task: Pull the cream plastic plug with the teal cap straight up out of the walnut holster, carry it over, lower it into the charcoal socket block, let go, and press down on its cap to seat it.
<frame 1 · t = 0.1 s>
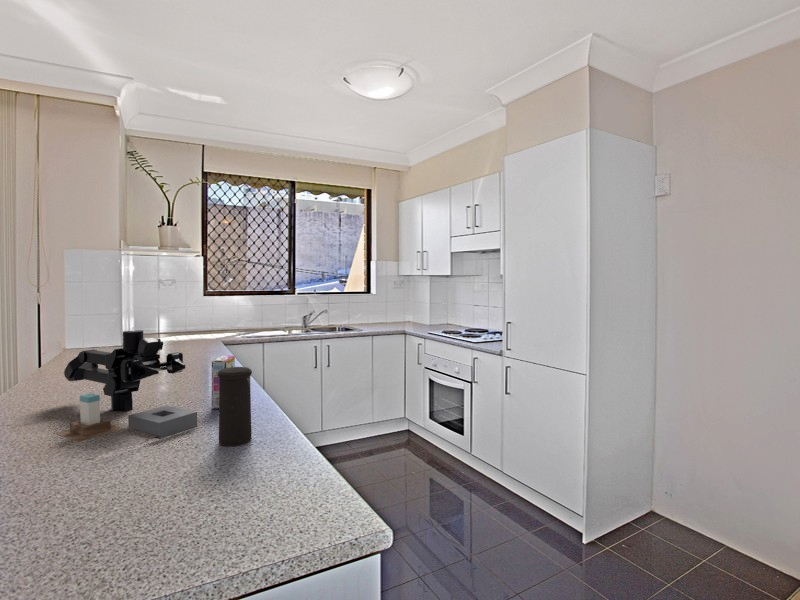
hand: (171, 369, 138), 17 cm above the counter, tool horizontal, fingers open, 9 cm apart
socket block: (163, 428, 134), on the counter
plug: (90, 430, 129), point 1 cm above the counter, touching holster
container: (235, 442, 125), on the counter
holster: (90, 434, 129), on the counter
candy bar box: (223, 405, 160), on the counter
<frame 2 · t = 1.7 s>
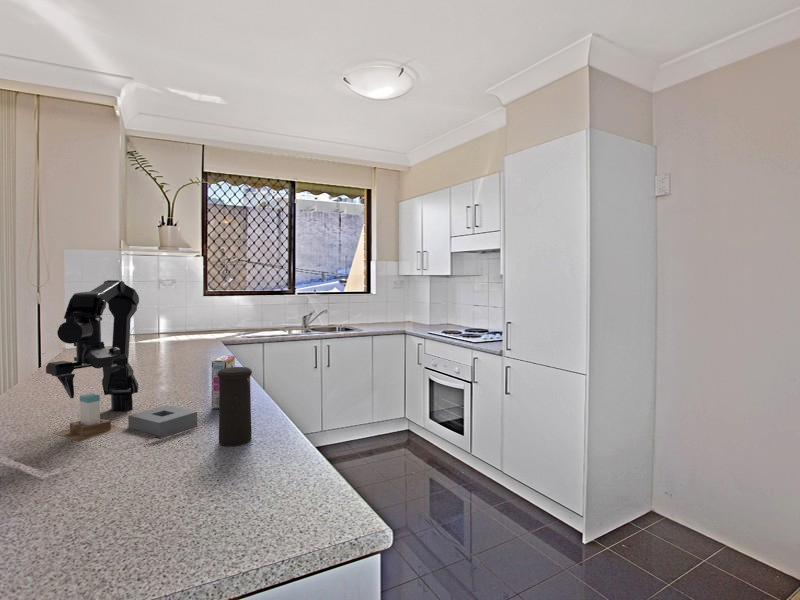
hand: (90, 394, 129), 11 cm above the counter, tool pointing down, fingers open, 9 cm apart
nothing on the counter moved.
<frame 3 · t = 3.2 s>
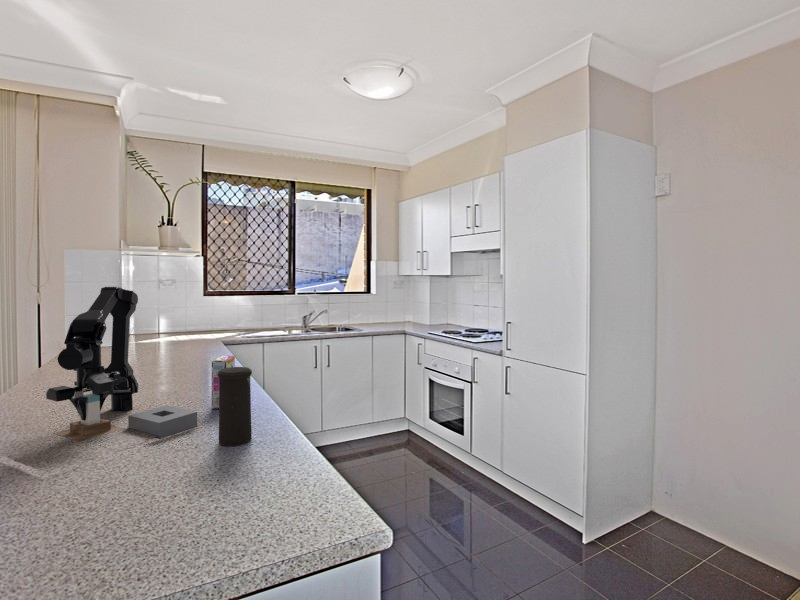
hand: (90, 418, 129), 5 cm above the counter, tool pointing down, fingers closed on plug, 3 cm apart
plug: (90, 430, 129), point 1 cm above the counter, touching gripper, holster
everything else where it was.
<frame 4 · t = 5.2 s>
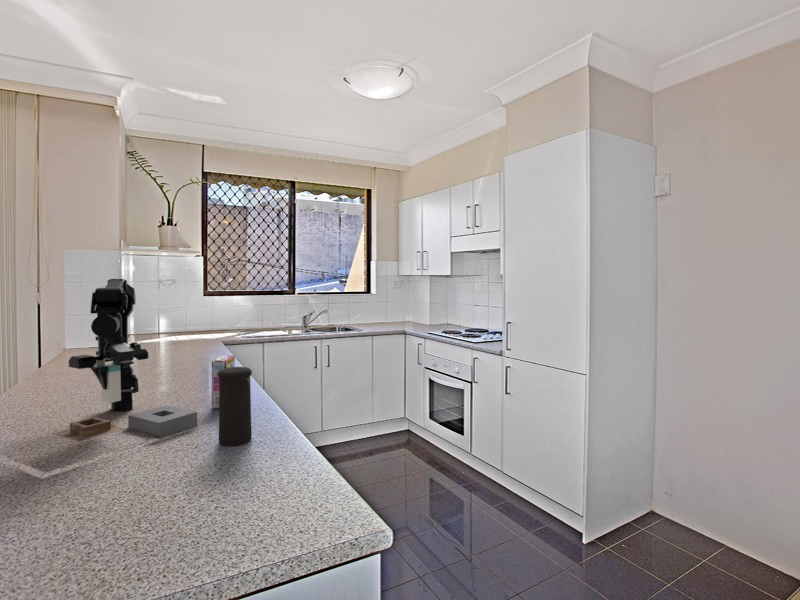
hand: (111, 388, 130), 13 cm above the counter, tool pointing down, fingers closed on plug, 3 cm apart
plug: (111, 400, 130), point 9 cm above the counter, touching gripper
everything else where it was.
when the fingers open (5 cm above the counter, at t = 7.7 s): plug drops 2 cm, resting in socket block.
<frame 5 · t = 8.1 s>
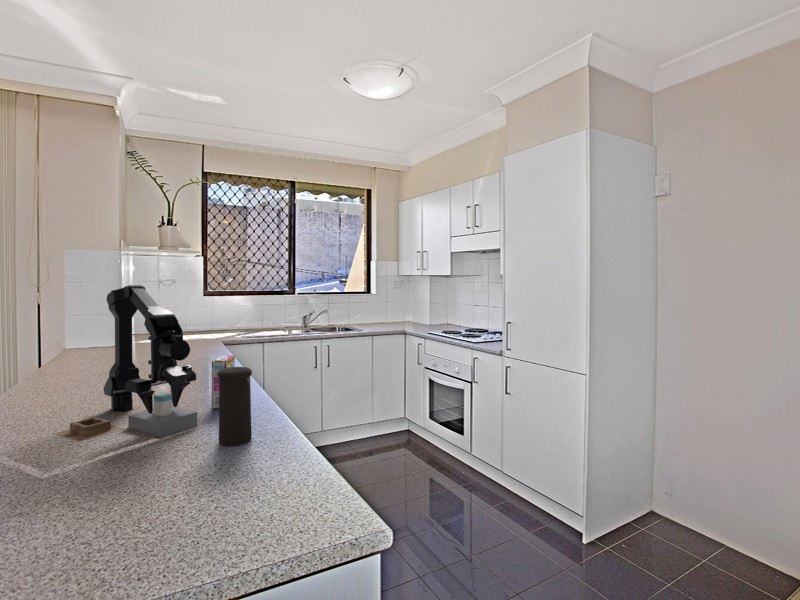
hand: (163, 410, 134), 5 cm above the counter, tool pointing down, fingers open, 7 cm apart
plug: (163, 428, 134), resting in socket block
everything else where it was.
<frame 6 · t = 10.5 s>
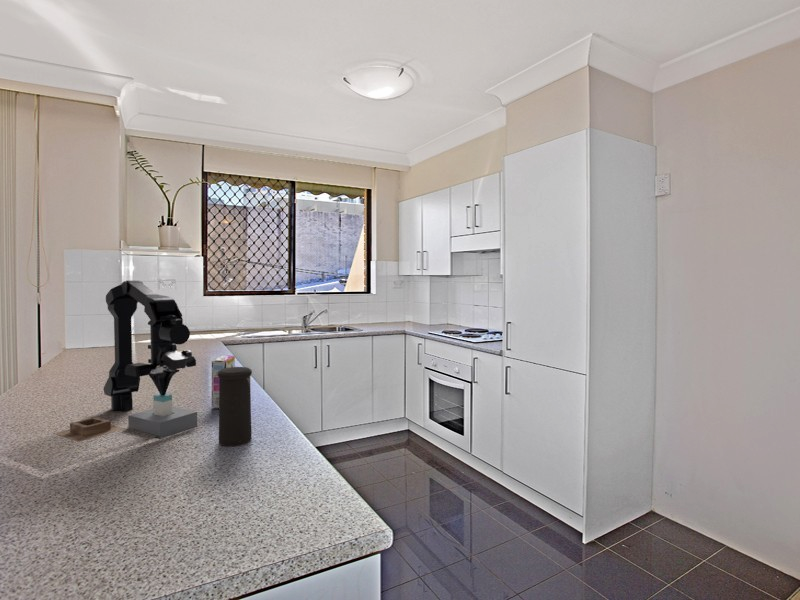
hand: (162, 394, 134), 10 cm above the counter, tool pointing down, fingers closed, pressing on plug
plug: (163, 428, 134), resting in socket block, touching gripper
everything else where it was.
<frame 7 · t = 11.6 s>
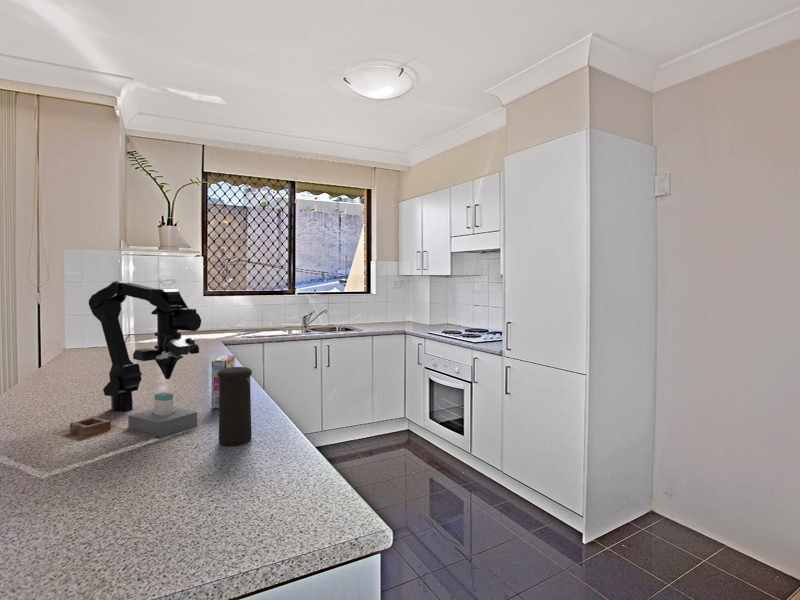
hand: (167, 378, 145), 12 cm above the counter, tool pointing down, fingers closed
plug: (163, 428, 134), resting in socket block
everything else where it was.
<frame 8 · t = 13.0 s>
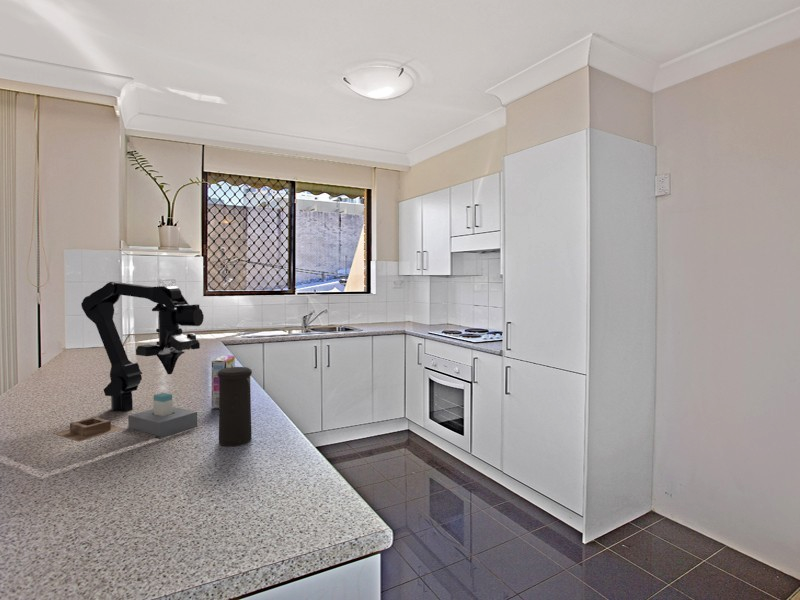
hand: (169, 374, 148), 13 cm above the counter, tool pointing down, fingers closed
nothing on the counter moved.
at the end: plug 0.0 cm off-centre on the socket block, point 0.0 cm above the socket block's base; plug tilted 0°; the gripper is holding nothing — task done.
